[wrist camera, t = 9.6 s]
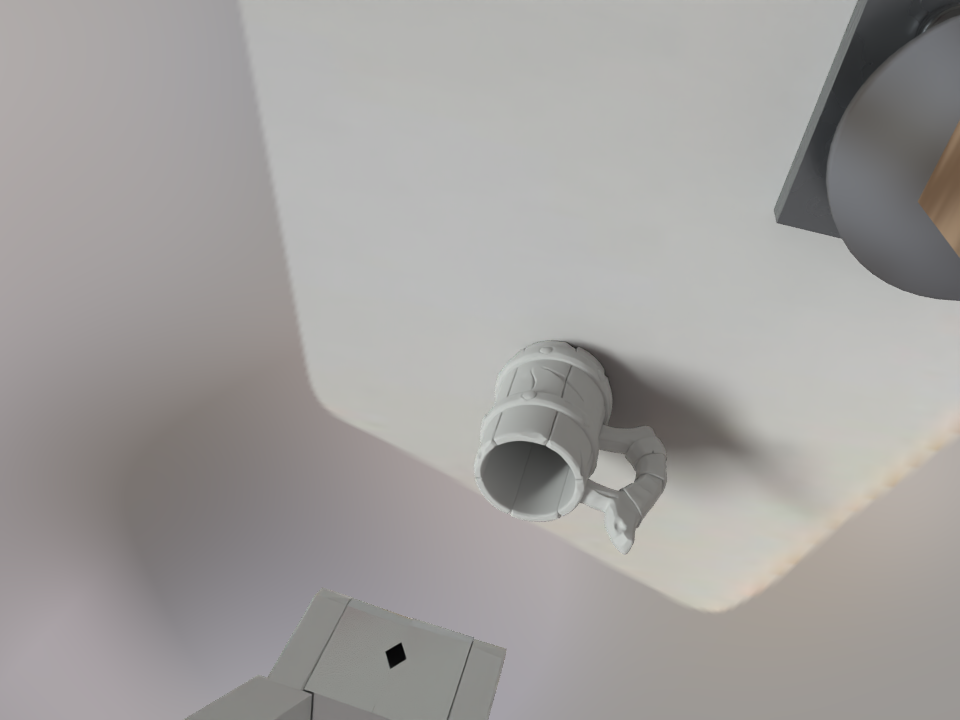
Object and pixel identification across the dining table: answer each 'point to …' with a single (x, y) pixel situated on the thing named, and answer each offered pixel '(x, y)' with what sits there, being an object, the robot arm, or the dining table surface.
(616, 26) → the dining table surface
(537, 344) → the mug
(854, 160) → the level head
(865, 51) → the stand
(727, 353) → the dining table surface
